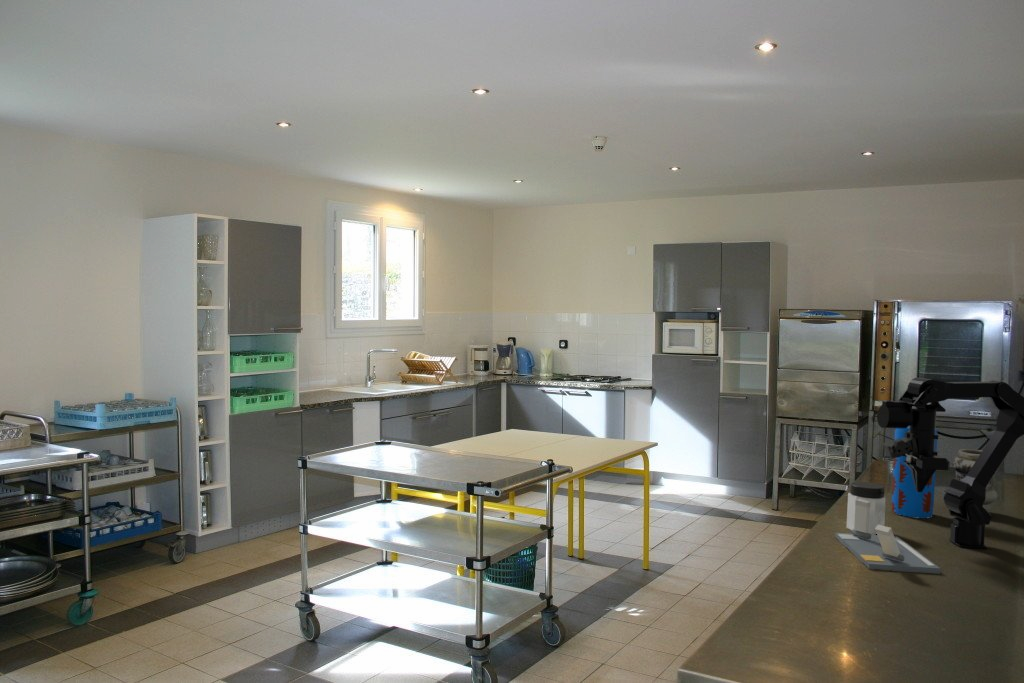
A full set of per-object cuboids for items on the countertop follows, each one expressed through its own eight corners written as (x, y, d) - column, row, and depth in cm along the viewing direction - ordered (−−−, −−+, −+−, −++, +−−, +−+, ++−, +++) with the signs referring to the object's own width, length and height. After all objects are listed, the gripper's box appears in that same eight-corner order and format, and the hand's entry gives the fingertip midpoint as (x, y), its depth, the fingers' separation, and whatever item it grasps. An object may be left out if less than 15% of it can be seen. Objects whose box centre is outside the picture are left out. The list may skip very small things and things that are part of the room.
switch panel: (897, 541, 197) (897, 535, 197) (940, 573, 172) (940, 567, 172) (835, 537, 199) (835, 531, 199) (868, 569, 174) (869, 562, 174)
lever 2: (886, 553, 179) (875, 523, 176) (905, 558, 176) (894, 528, 173) (883, 557, 179) (871, 528, 176) (901, 563, 175) (890, 533, 172)
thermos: (929, 511, 229) (934, 426, 228) (936, 520, 219) (941, 431, 218) (888, 507, 233) (892, 423, 232) (893, 516, 222) (897, 428, 222)
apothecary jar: (951, 514, 226) (954, 452, 226) (945, 505, 238) (948, 446, 237) (1000, 520, 222) (1003, 456, 221) (992, 510, 233) (995, 450, 232)
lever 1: (854, 534, 196) (856, 498, 196) (871, 538, 193) (873, 502, 192) (851, 535, 196) (853, 499, 195) (867, 539, 192) (869, 503, 192)
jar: (869, 536, 200) (871, 490, 200) (840, 528, 207) (843, 483, 207) (889, 532, 205) (892, 486, 205) (860, 524, 212) (863, 480, 211)
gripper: (875, 422, 204) (872, 482, 205) (902, 433, 186) (899, 498, 186) (920, 424, 203) (916, 484, 204) (952, 435, 184) (948, 501, 185)
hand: (918, 491), depth 195 cm, fingers closed
